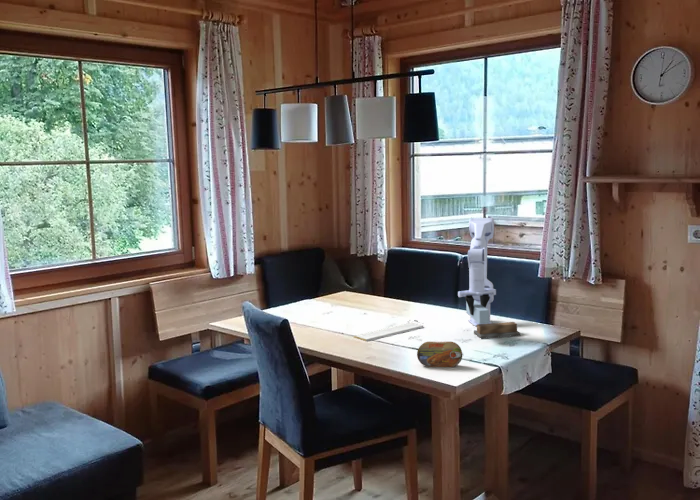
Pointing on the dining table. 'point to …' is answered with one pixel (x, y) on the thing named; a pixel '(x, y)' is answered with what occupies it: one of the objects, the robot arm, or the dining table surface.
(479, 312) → the beam
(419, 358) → the tin
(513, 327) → the stand
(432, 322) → the dining table surface
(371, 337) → the baseboard
